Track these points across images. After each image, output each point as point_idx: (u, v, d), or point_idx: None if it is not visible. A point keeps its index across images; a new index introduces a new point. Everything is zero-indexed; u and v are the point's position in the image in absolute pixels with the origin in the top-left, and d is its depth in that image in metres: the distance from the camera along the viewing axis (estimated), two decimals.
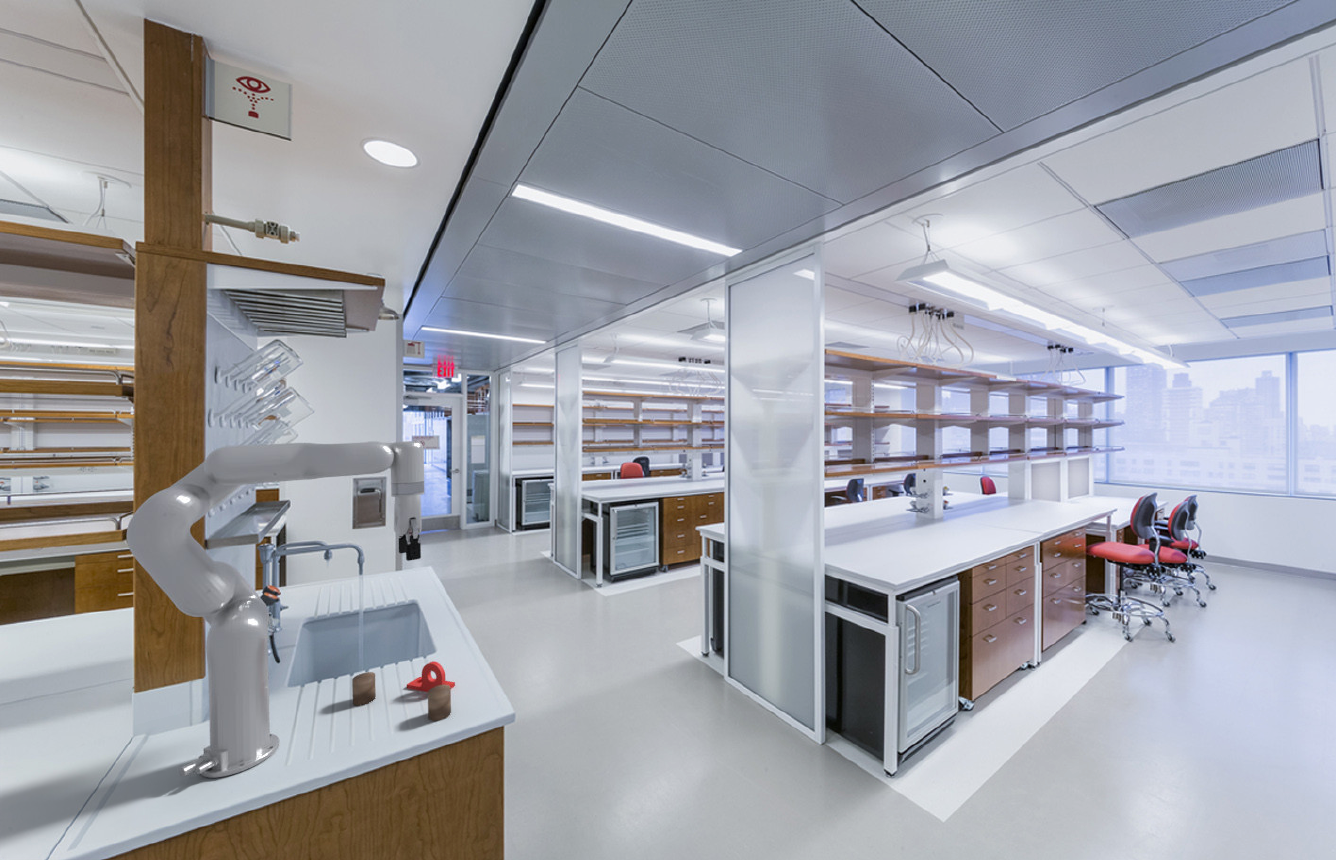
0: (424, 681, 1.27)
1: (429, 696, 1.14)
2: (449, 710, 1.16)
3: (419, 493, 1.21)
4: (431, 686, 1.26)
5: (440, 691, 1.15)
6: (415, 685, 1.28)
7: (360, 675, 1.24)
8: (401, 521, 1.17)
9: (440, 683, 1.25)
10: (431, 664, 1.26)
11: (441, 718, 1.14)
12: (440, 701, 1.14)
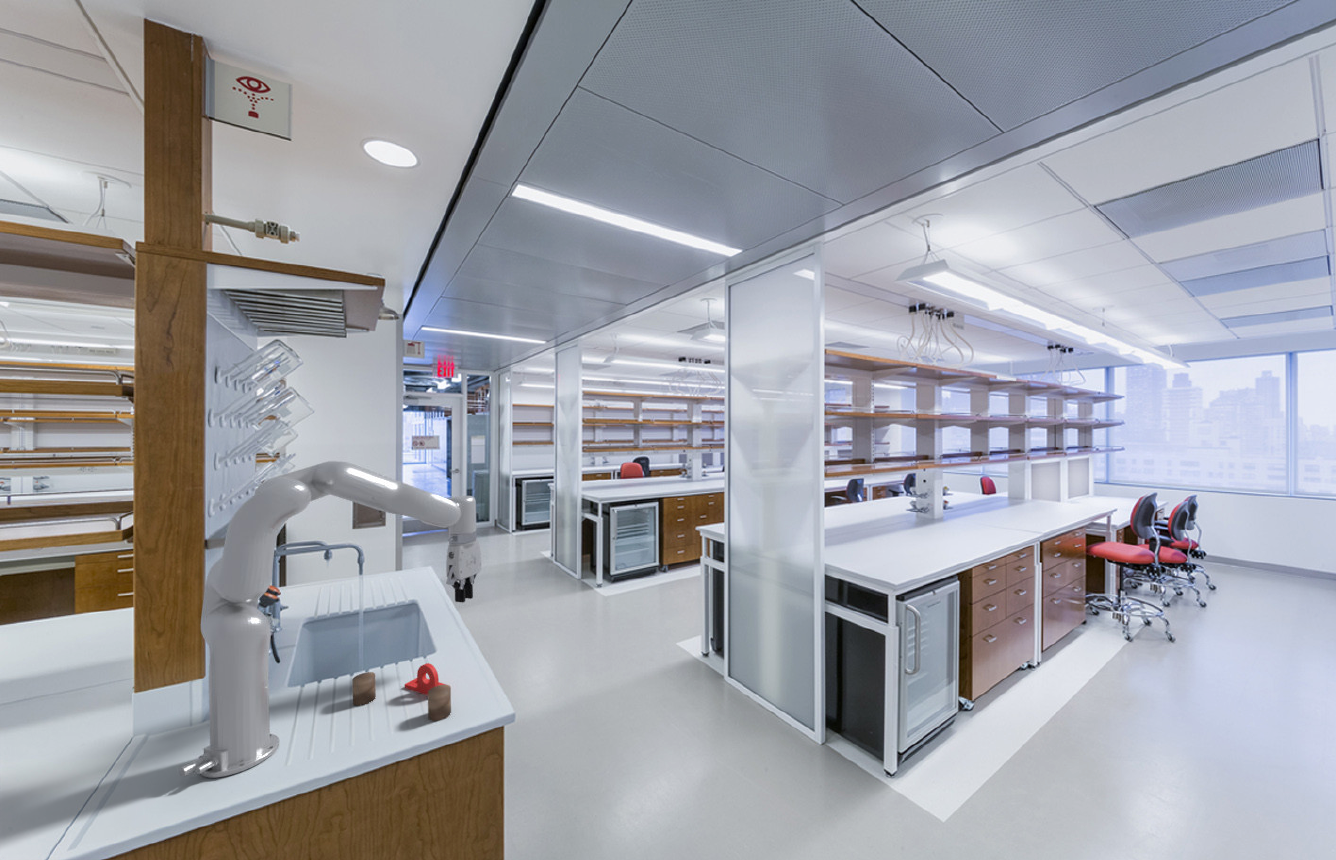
0: (419, 682, 1.26)
1: (429, 696, 1.14)
2: (449, 710, 1.16)
3: None
4: (425, 688, 1.25)
5: (440, 691, 1.15)
6: (412, 686, 1.28)
7: (360, 675, 1.24)
8: None
9: (433, 686, 1.24)
10: (425, 666, 1.25)
11: (441, 718, 1.14)
12: (440, 701, 1.14)
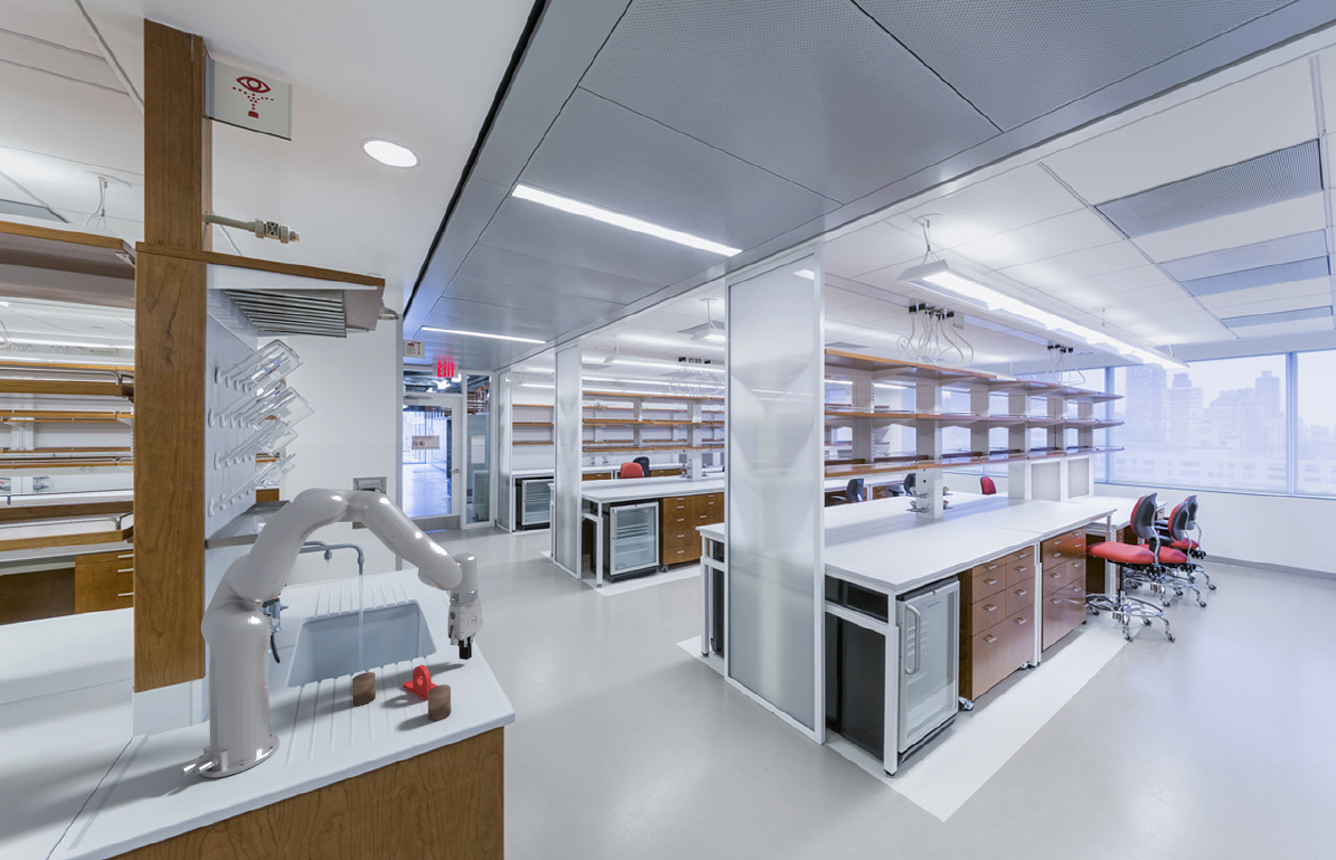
0: (414, 683, 1.25)
1: (429, 696, 1.14)
2: (449, 710, 1.16)
3: None
4: (419, 690, 1.24)
5: (440, 691, 1.15)
6: (409, 686, 1.28)
7: (360, 675, 1.24)
8: None
9: (425, 688, 1.22)
10: (419, 668, 1.24)
11: (441, 718, 1.14)
12: (440, 701, 1.14)
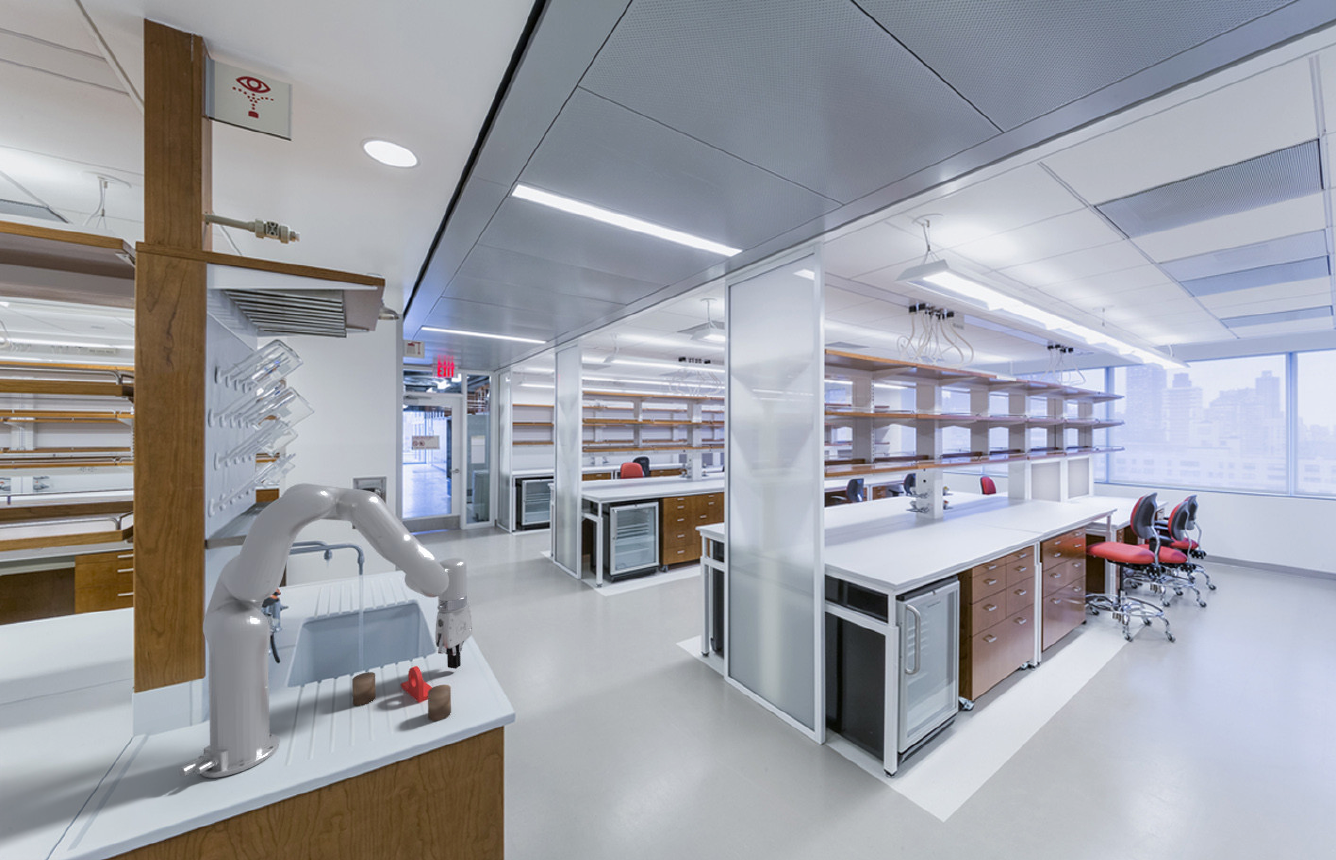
0: (409, 684, 1.25)
1: (429, 696, 1.14)
2: (449, 710, 1.16)
3: None
4: (413, 691, 1.24)
5: (440, 691, 1.15)
6: (406, 686, 1.28)
7: (360, 675, 1.24)
8: (471, 623, 1.41)
9: (417, 690, 1.22)
10: (413, 669, 1.23)
11: (441, 718, 1.14)
12: (440, 701, 1.14)
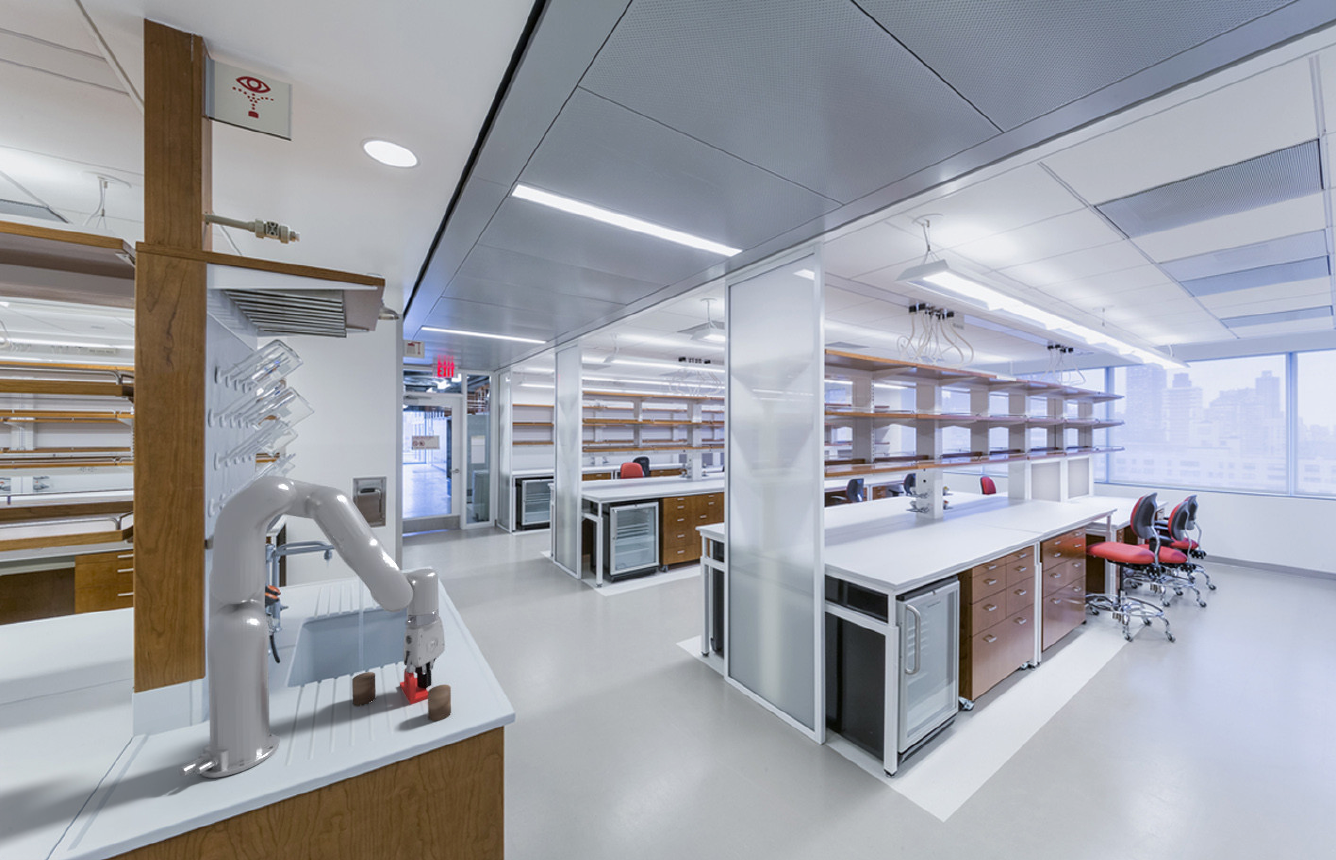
0: (405, 685, 1.25)
1: (429, 696, 1.14)
2: (449, 710, 1.16)
3: None
4: (407, 692, 1.23)
5: (440, 691, 1.15)
6: (403, 686, 1.28)
7: (360, 675, 1.24)
8: None
9: (409, 692, 1.21)
10: None
11: (441, 718, 1.14)
12: (440, 701, 1.14)
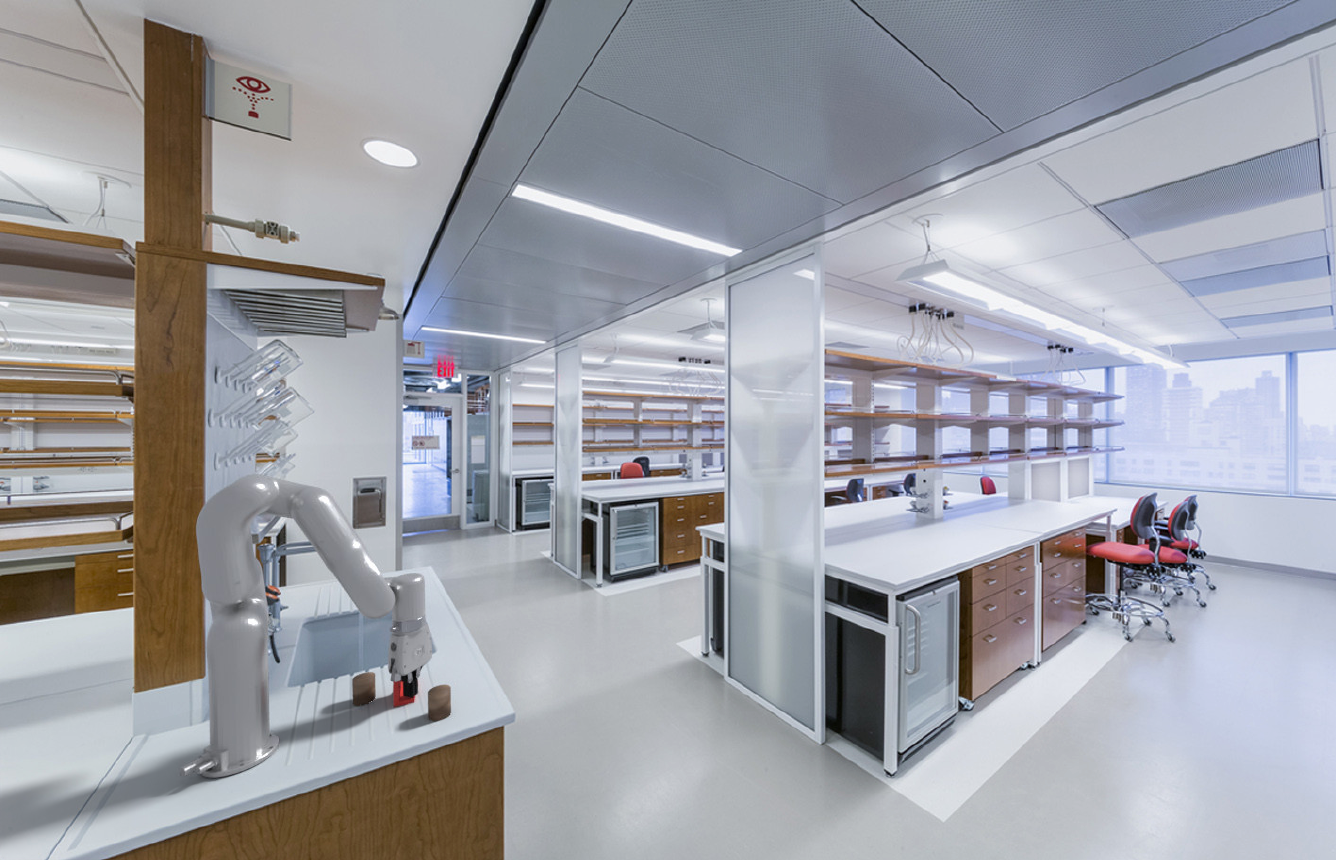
0: None
1: (429, 696, 1.14)
2: (449, 710, 1.16)
3: None
4: None
5: (440, 691, 1.15)
6: None
7: (360, 675, 1.24)
8: (431, 645, 1.26)
9: None
10: None
11: (441, 718, 1.14)
12: (440, 701, 1.14)
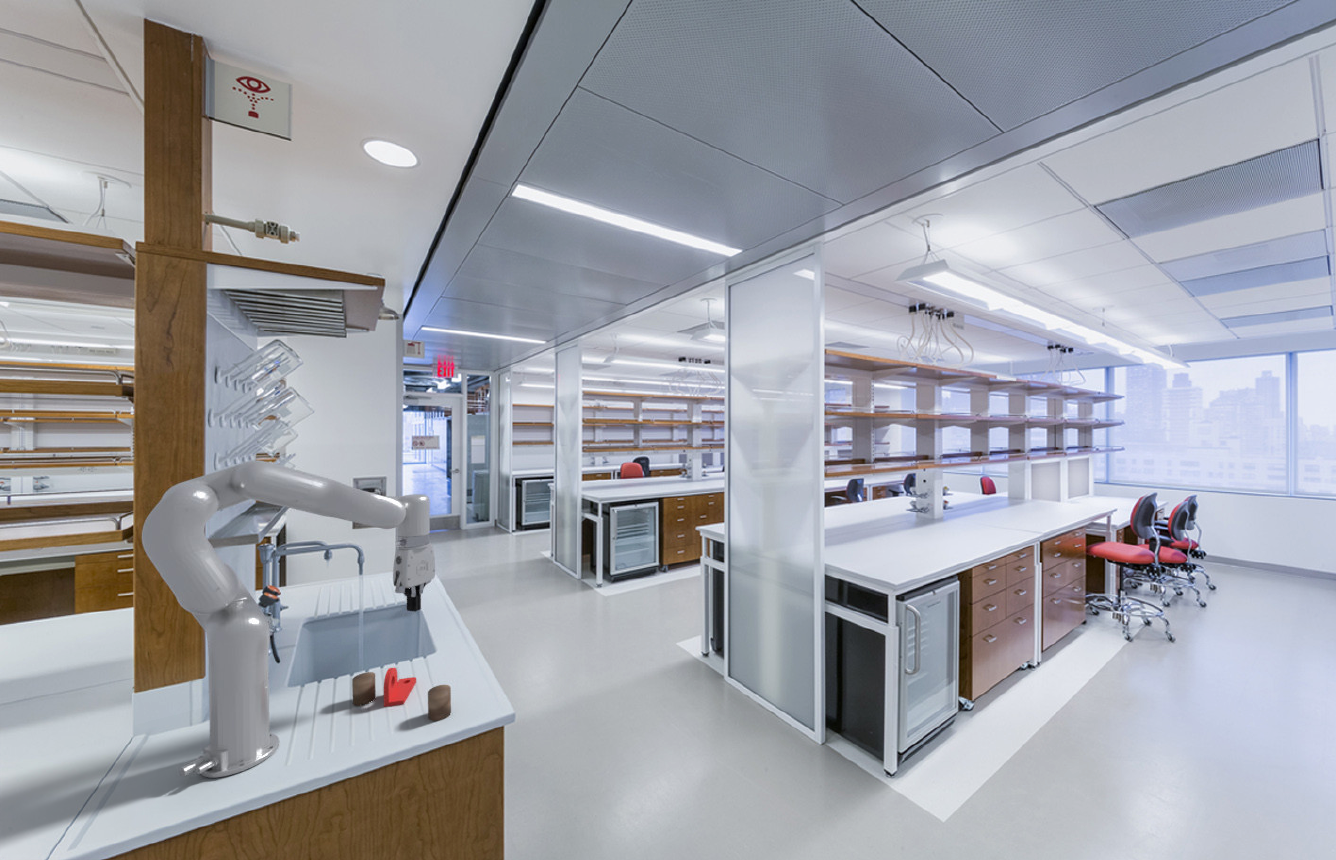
0: None
1: (429, 696, 1.14)
2: (449, 710, 1.16)
3: None
4: None
5: (440, 691, 1.15)
6: None
7: (360, 675, 1.24)
8: (434, 564, 1.31)
9: None
10: None
11: (441, 718, 1.14)
12: (440, 701, 1.14)
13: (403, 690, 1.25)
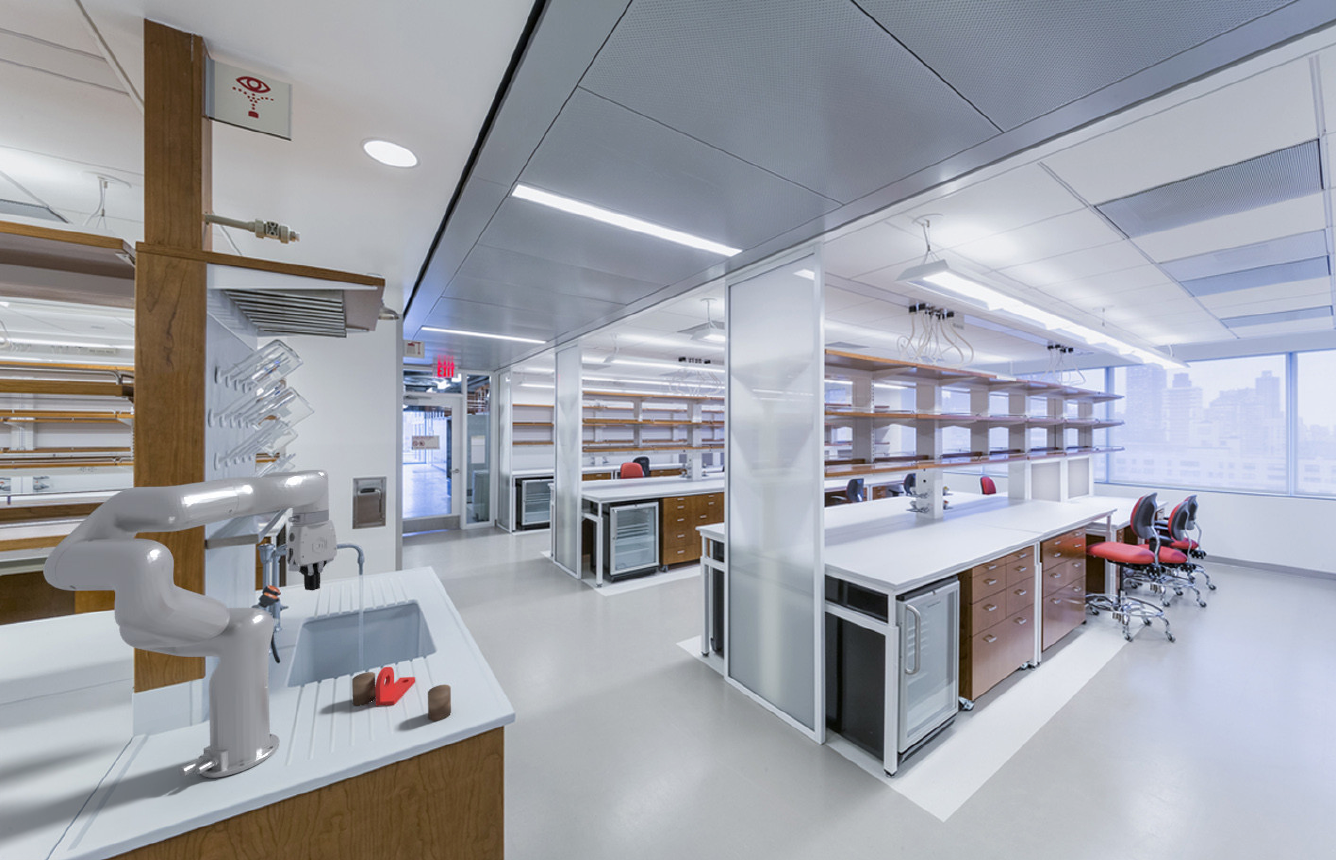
0: None
1: (429, 696, 1.14)
2: (449, 710, 1.16)
3: None
4: None
5: (440, 691, 1.15)
6: (396, 682, 1.30)
7: (360, 675, 1.24)
8: (336, 542, 1.26)
9: None
10: None
11: (441, 718, 1.14)
12: (440, 701, 1.14)
13: (398, 690, 1.26)
